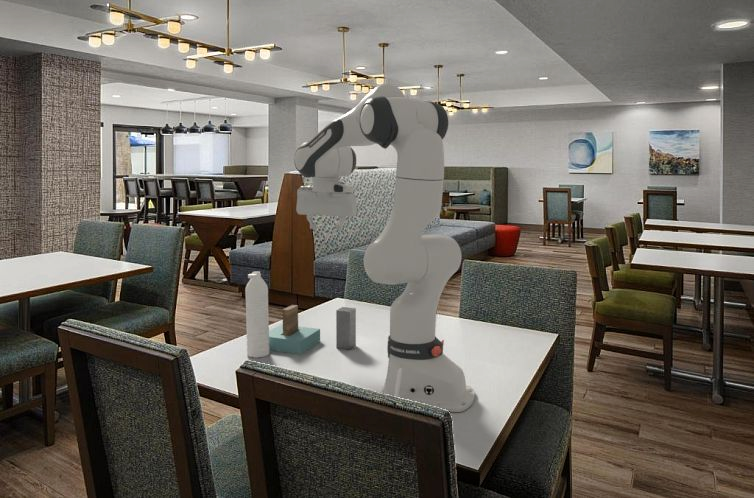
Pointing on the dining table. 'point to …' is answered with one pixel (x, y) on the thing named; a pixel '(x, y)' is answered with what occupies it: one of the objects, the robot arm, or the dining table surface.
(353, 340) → the square metal peg
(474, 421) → the dining table surface
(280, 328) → the socket block
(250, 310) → the water bottle
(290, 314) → the walnut blade
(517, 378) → the dining table surface
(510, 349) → the dining table surface
